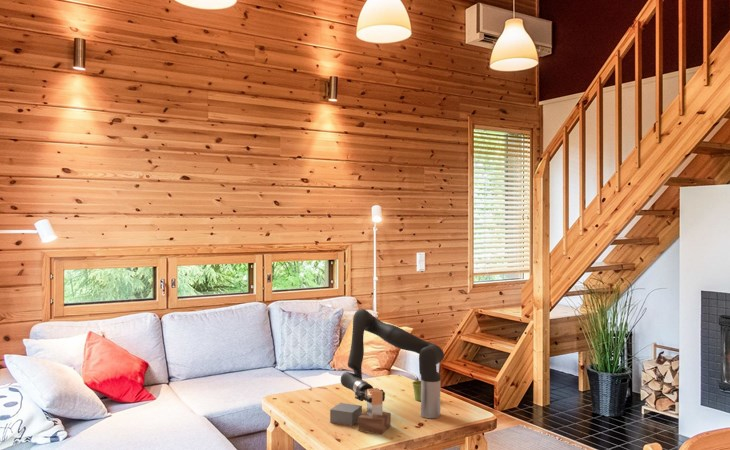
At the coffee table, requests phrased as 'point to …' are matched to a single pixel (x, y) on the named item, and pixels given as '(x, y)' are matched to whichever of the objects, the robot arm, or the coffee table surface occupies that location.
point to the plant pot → (417, 390)
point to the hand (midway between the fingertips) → (376, 399)
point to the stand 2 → (374, 423)
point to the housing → (375, 402)
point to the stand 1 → (345, 414)
